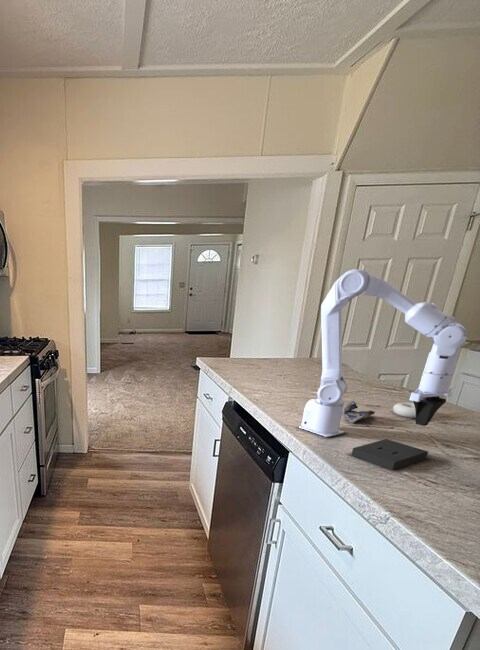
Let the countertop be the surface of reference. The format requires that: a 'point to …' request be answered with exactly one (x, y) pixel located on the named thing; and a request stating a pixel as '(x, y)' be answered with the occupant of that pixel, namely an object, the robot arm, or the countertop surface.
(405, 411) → the donut
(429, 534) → the countertop surface
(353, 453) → the base pad
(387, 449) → the tab pad
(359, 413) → the snack package
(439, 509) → the countertop surface
